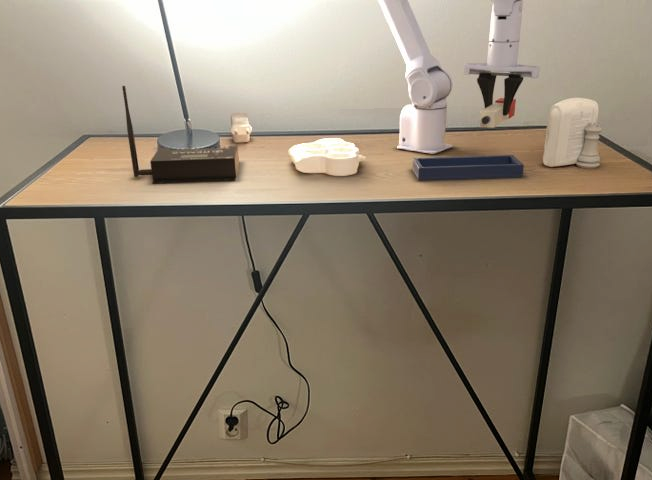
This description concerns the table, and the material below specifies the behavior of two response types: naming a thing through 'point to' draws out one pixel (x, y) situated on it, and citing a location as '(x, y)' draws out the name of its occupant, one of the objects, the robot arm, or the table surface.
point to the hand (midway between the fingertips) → (497, 114)
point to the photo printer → (568, 130)
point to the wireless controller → (185, 161)
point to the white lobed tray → (326, 157)
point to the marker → (495, 114)
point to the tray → (467, 167)
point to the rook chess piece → (590, 147)
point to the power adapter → (240, 127)
